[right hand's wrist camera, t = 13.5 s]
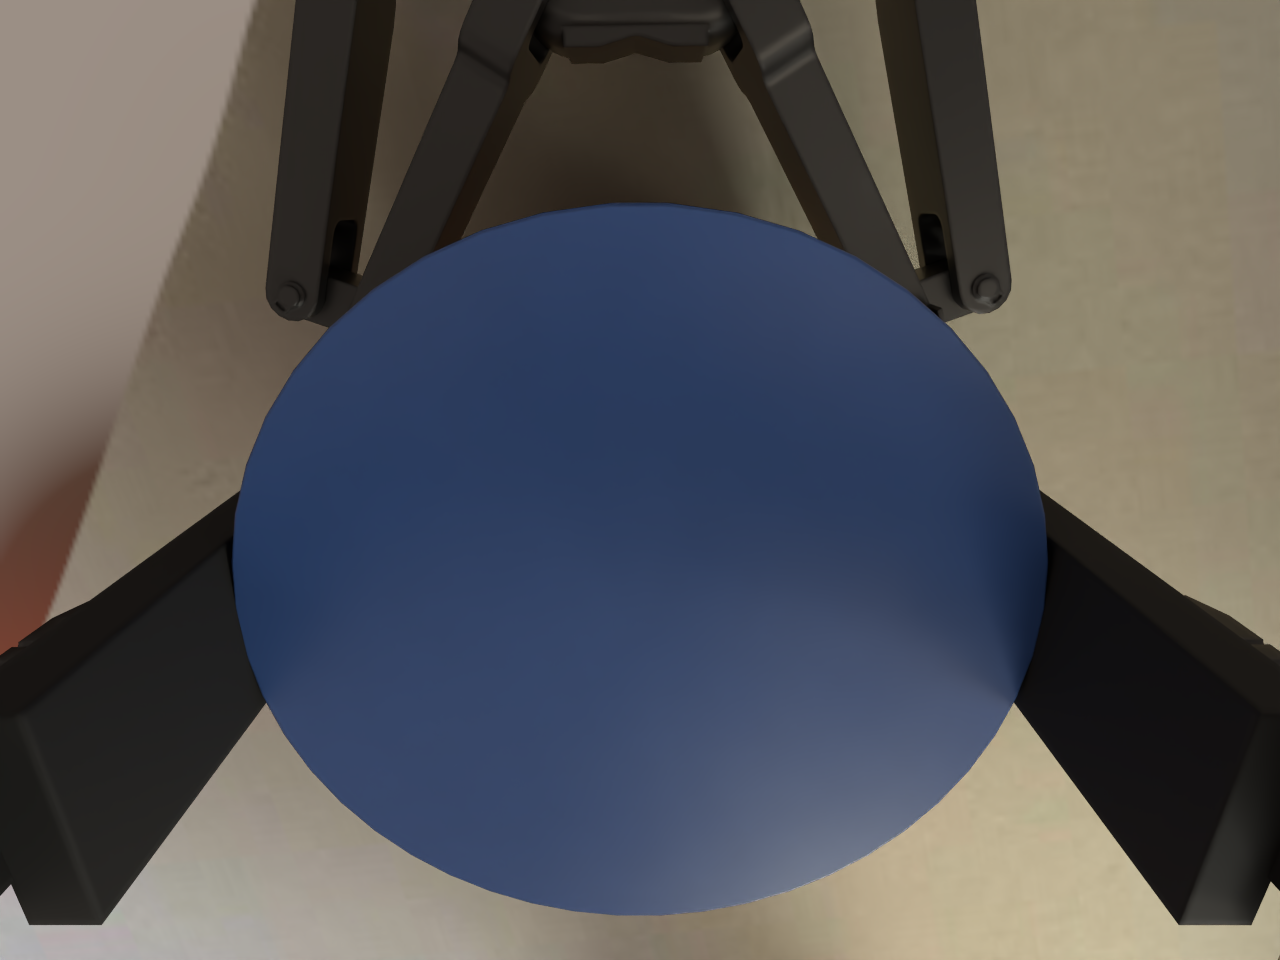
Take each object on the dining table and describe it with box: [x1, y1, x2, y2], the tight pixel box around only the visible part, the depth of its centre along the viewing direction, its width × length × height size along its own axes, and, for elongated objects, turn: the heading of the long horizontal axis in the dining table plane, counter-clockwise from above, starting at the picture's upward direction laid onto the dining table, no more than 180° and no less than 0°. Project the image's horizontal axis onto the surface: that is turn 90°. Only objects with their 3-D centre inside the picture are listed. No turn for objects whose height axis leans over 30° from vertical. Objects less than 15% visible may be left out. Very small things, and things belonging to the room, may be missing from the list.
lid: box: [232, 203, 1048, 915], centre depth 11 cm, size 11×11×2 cm
